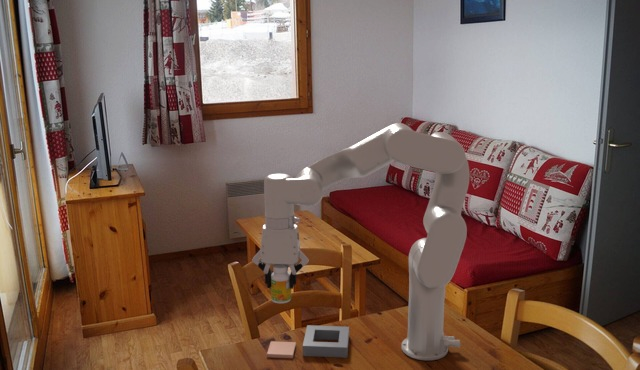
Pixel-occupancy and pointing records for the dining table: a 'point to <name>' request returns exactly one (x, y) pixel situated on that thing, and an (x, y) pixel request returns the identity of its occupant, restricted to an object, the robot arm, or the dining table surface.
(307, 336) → the frame
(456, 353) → the dining table surface
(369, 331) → the dining table surface
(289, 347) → the mat
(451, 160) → the robot arm
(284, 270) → the supplement bottle
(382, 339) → the dining table surface
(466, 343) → the dining table surface
